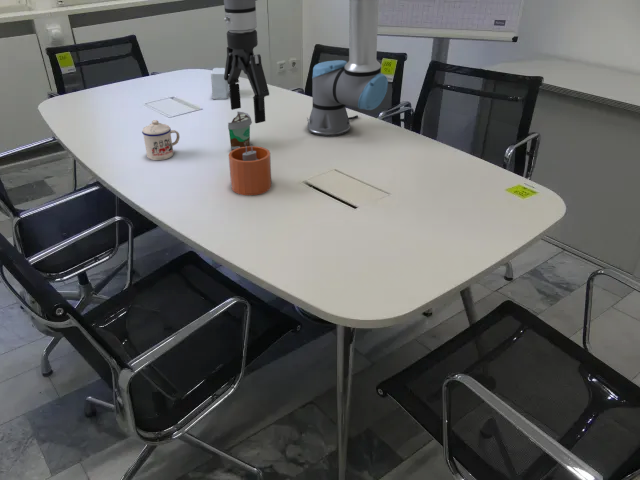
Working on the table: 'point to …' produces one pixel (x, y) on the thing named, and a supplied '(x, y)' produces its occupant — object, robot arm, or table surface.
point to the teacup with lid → (159, 140)
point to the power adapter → (249, 155)
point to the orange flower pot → (250, 171)
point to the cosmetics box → (219, 84)
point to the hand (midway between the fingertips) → (247, 115)
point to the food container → (240, 130)
